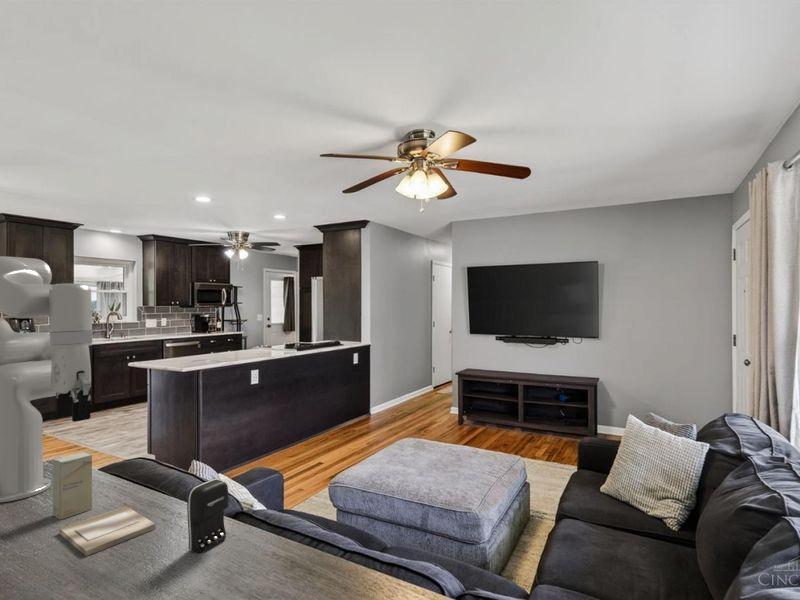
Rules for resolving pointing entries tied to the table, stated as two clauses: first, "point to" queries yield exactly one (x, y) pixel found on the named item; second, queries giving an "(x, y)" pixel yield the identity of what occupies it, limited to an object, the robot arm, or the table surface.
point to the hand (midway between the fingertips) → (73, 417)
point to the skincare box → (72, 485)
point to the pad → (106, 530)
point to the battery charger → (207, 514)
